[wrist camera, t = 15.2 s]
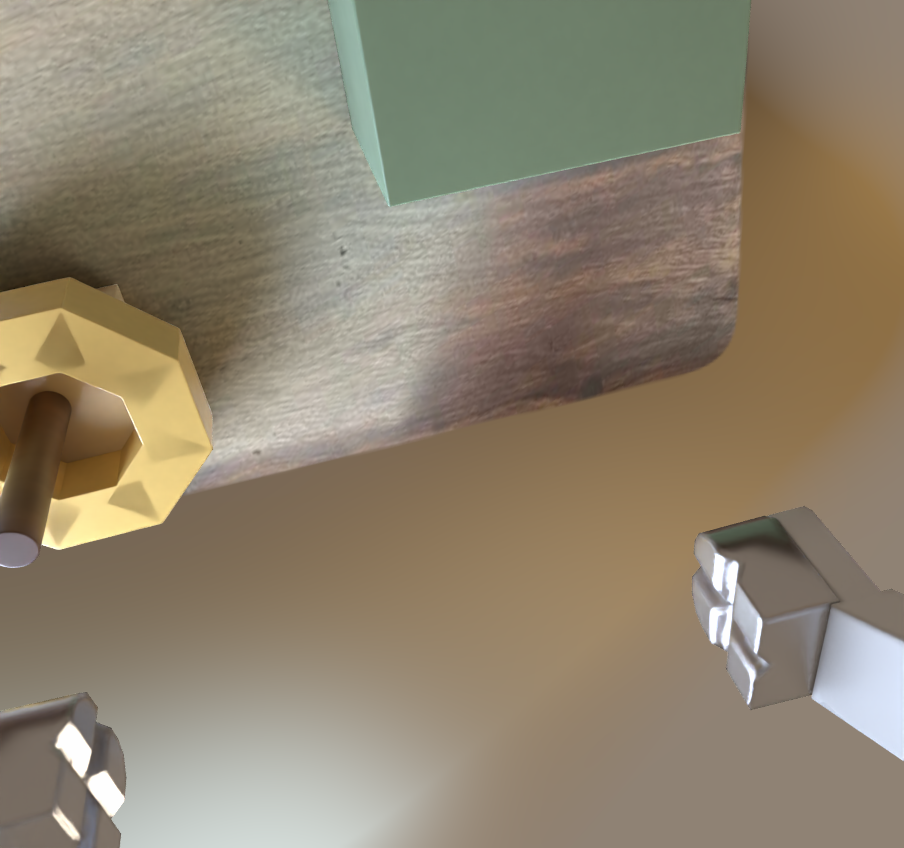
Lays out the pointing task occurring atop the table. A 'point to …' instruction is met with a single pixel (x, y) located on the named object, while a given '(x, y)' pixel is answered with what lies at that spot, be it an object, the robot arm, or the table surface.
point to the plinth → (532, 84)
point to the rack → (50, 448)
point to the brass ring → (123, 374)
